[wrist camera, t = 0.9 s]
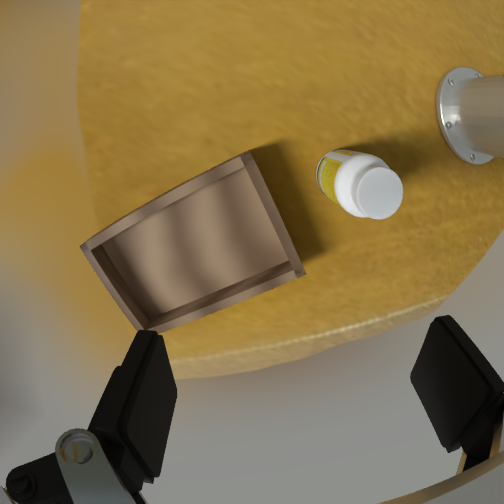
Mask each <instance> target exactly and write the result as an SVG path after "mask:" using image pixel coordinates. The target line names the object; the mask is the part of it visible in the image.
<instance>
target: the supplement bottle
mask: <svg viewBox="0 0 504 504" xmlns="http://www.w3.org/2000/svg"><path fill="white" fill-rule="evenodd" d="M316 178H317V183H318V185H319V187H320V189H321V190H322V192H323V193H324V194H325V195H326V196H327V197H329V198H330V199H331V200H332V201H334V202H335V203H336V204H338V205H339V206H340V207H342V208H343V209H344V210H346V211H347V212H348V213H350V214H352V215H354V216H357V217H370V218H373V219H384V218H387V217H389V216H391V215H392V214H394V213H395V212H396V210H397V209H398V208H399V206H400V204H401V202H402V198H403V186H402V182H401V180H400V178H399V177H398V175H397V174H396V173H395V172H394V171H392V170H391V169H390V168H389V167H388V165H387V164H386V163H385V162H384V161H383V160H382V159H380V158H378V157H376V156H374V155H371V154H366V153H361V152H356V151H351V150H345V149H337V150H333V151H331V152H329V153H327V154H326V155H325V156H324V157H323V158H322V159H321V160H320V162H319V164H318V167H317V171H316Z"/></svg>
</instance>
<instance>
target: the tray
mask: <svg viewBox="0 0 504 504" xmlns="http://www.w3.org/2000/svg"><path fill="white" fill-rule="evenodd" d="M80 248H81V250H82V251H83V253H84V255H85V256H86V258H87V260H88V261H89V263H90V264H91V266H92V268H93V269H94V271H95V272H96V274H97V275H98V277H99V278H100V280H101V281H102V283H103V284H104V286H105V287H106V289H107V290H108V292H109V293H110V295H111V296H112V298H113V299H114V300H115V302H116V303H117V305H118V306H119V307H120V309H121V310H122V312H123V313H124V314H125V316H126V317H127V318H128V320H129V321H130V322H131V324H132V325H133V326H134V328H135V329H136V330H137V332H138V330H155V331H157V333H158V334H159V333H162V332H165V331H167V330H170V329H173V328H175V327H178V326H181V325H183V324H186V323H189V322H191V321H194V320H196V319H199V318H201V317H204V316H207V315H209V314H212V313H214V312H217V311H219V310H222V309H224V308H227V307H229V306H232V305H234V304H237V303H239V302H242V301H244V300H247V299H249V298H251V297H254V296H256V295H259V294H261V293H263V292H266V291H268V290H271V289H273V288H275V287H278V286H280V285H282V284H285V283H287V282H289V281H292V280H294V279H296V278H299V277H301V276H303V275H306V273H305V270H304V268H303V265H302V263H301V261H300V258H299V256H298V254H297V251H296V249H295V247H294V245H293V242H292V240H291V238H290V236H289V233H288V231H287V229H286V227H285V224H284V222H283V220H282V218H281V216H280V213H279V211H278V209H277V207H276V205H275V203H274V200H273V198H272V196H271V194H270V192H269V190H268V187H267V185H266V183H265V181H264V179H263V177H262V175H261V173H260V170H259V168H258V166H257V164H256V162H255V160H254V158H253V156H252V154H251V152H250V150H248V151H246V152H244V153H242V154H240V155H238V156H235V157H233V158H231V159H229V160H227V161H225V162H223V163H221V164H219V165H217V166H215V167H213V168H211V169H209V170H207V171H205V172H203V173H201V174H199V175H197V176H195V177H193V178H191V179H189V180H187V181H185V182H184V183H182V184H180V185H178V186H176V187H174V188H172V189H171V190H169V191H167V192H165V193H163V194H162V195H160V196H158V197H156V198H154V199H153V200H151V201H149V202H147V203H146V204H144V205H142V206H141V207H139V208H137V209H135V210H134V211H132V212H130V213H129V214H127V215H125V216H124V217H122V218H120V219H119V220H117V221H115V222H114V223H112V224H111V225H109V226H107V227H106V228H104V229H103V230H101V231H100V232H98V233H96V234H95V235H93V236H92V237H91V238H90V239H88V240H87V241H86V242H84V243H83V244H82V245H81V246H80Z"/></svg>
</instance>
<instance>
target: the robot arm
mask: <svg viewBox="0 0 504 504" xmlns="http://www.w3.org/2000/svg"><path fill="white" fill-rule="evenodd" d="M436 109H437V116H438V121H439V125H440V128H441V131H442V133H443V136H444V138H445V140H446V142H447V144H448V145H449V147H450V148H451V149H452V151H453V152H454V153H455V154H456V155H457V156H458V157H459V158H460V159H462V160H464V161H466V162H469V163H472V164H478V165H480V164H485V163H487V162H489V161H490V160H492V159H493V158H494V157H495V156H496V157H500V158H504V75H499V76H487V77H484V76H483V75H481V74H480V73H479V72H477V71H476V70H474V69H472V68H468V67H458V68H454V69H452V70H450V71H448V72H447V73H446V74H445V75H444V76H443V78H442V80H441V81H440V84H439V87H438V90H437V98H436ZM410 379H411V382H412V384H413V386H414V388H415V390H416V392H417V394H418V396H419V398H420V400H421V402H422V404H423V406H424V408H425V410H426V412H427V415H428V417H429V419H430V421H431V423H432V425H433V427H434V429H435V431H436V434H437V436H438V438H439V440H440V442H441V445H442V446H443V447H445V448H446V450H447V452H448V453H450V452H452V451H455V450H457V449H459V448H460V447H461V446H462V449H463V452H462V456H461V459H460V463H459V466H458V469H457V472H456V475H455V476H453V477H451V478H449V479H447V480H444V481H442V482H440V483H437V484H435V485H432V486H430V487H427V488H425V489H422V490H419V491H416V492H414V493H411V494H408V495H405V496H402V497H399V498H395V499H392V500H389V501H386V502H382V503H378V504H504V393H503V392H504V382H503V381H502V379H501V378H500V377H499V375H498V374H497V372H496V371H495V370H494V368H493V367H492V366H491V365H490V363H489V362H488V361H487V359H486V358H485V357H484V355H483V354H482V353H481V351H480V350H479V349H478V348H477V346H476V345H475V344H474V343H473V342H472V340H471V339H470V338H469V337H468V335H467V334H466V333H465V332H464V331H463V329H462V328H461V327H460V326H459V325H458V323H457V322H456V321H455V320H454V319H453V318H452V317H451V316H450V315H446V316H439V317H436V318H435V319H434V321H433V322H432V323H431V324H430V327H429V330H428V332H427V335H426V338H425V340H424V343H423V345H422V348H421V351H420V353H419V355H418V358H417V360H416V363H415V365H414V367H413V370H412V372H411V376H410ZM176 399H177V388H176V384H175V380H174V377H173V373H172V370H171V366H170V363H169V359H168V355H167V351H166V347H165V343H164V339H163V336H162V335H158V333H157V331H155V330H138V332H137V334H136V336H135V338H134V340H133V342H132V344H131V346H130V348H129V350H128V352H127V354H126V357H125V359H124V361H123V363H122V365H121V366H117V367H116V368H115V370H114V371H113V373H112V375H111V378H110V380H109V382H108V384H107V386H106V388H105V391H104V393H103V395H102V397H101V399H100V401H99V404H98V406H97V409H96V411H95V413H94V415H93V417H92V420H91V422H90V424H89V427H88V429H87V430H85V429H79V428H75V429H71V430H68V431H67V432H64V434H62V435H61V436H60V437H59V439H58V440H57V442H56V446H55V452H54V453H52V454H49V455H47V456H44V457H42V458H39V459H37V460H34V461H32V462H29V463H26V464H24V465H21V466H18V467H16V468H14V469H12V471H11V472H10V473H9V474H8V476H7V479H6V487H5V488H3V487H2V486H0V504H148V503H147V501H146V500H145V498H144V497H143V495H142V494H141V492H140V490H142V486H143V482H146V483H151V484H153V481H154V477H159V475H160V473H161V468H162V463H163V457H164V453H165V448H166V444H167V439H168V434H169V430H170V425H171V421H172V417H173V412H174V408H175V403H176Z"/></svg>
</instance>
